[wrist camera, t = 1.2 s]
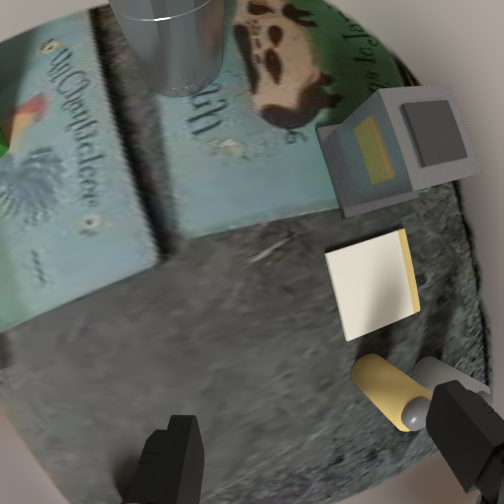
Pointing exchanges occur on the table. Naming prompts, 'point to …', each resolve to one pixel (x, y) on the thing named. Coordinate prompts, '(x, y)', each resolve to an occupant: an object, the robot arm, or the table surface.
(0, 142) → the green box
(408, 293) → the pad
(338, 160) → the unit
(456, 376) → the cylinder
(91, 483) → the table surface
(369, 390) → the cylinder
